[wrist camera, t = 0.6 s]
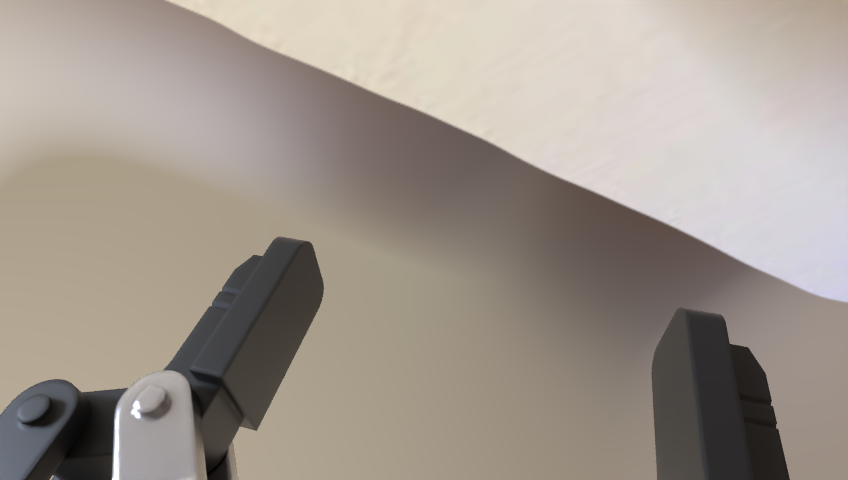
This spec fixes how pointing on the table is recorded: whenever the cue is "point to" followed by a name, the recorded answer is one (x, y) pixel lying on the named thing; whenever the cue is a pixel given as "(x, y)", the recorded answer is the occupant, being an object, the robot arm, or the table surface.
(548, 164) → the table surface
